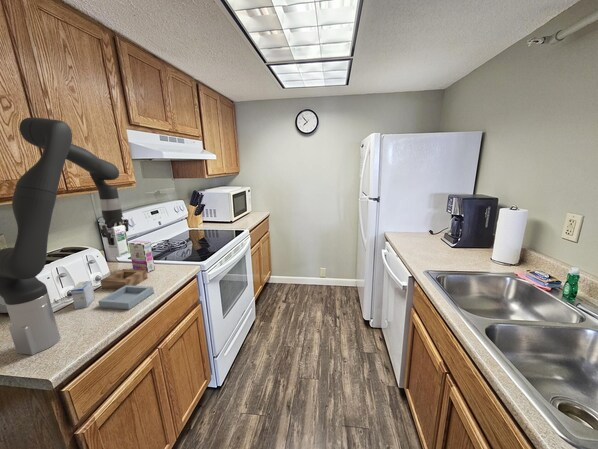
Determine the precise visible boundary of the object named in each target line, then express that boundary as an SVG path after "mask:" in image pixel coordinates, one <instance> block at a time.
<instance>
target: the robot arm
mask: <svg viewBox="0 0 598 449" xmlns="http://www.w3.org/2000/svg"><path fill="white" fill-rule="evenodd" d="M18 126H19V133H20V135H21V137H22V138H23V139H24V141H26V142H27V143H28V144H30V145H32V146H35V147H37V148H39V149H43V151H42V154H41V156H40V157H39V159H38V160H37V162H36V163H35V164H34V165H33V166H32V167H30V168H29V169H28V170H27V171H25V173H24V174H22V175H21V177H19V178H18V180H17V181H16V184H15V187H14V191H13V195H12V201H11V208H12V213H13V215H14V219H15V222H16V225H17V236H16V240H15V242H14V246H13V247H4V248H1V249H0V297H1V298H2V299H3V301H4V304H5V307H6V311H7V313H8V317H9V318H10V323H11V325H9V327H8V330H9V333H10V337H11V339H12V342H13V345H14V348H15V351H16V354H18V355H19V354H21V355H29V356H33V355H35V354H37V353H40V352H43V351H45V350H47V349H49V348H50V347H53V346H54V345H55V344H57V343H58V342H59V341H60V340H61V335H60V331H59V328H58V324H57V320H56V316H55V313H54V310H53V305H52V303H51V299H50V294H49V292H48V288H47V285H46V284H45V283H44V282H43V281H41V280H39V279H38V278H37V276H38V275H39V274H41V272H43V270H44V268H45V266H46V262H47V255H48V254H47V253H48V242H49V241H48V240H49V231H50V228H51V223H52V222H51V221H52V217H53V212H54V208H55V205H56V200H57V196H58V195H57V194H58V189H59V185H60V181H61V177H62V172H63V168H64V166H65V163H66V160H68V161H69V162H71V163H72V164H75V165H76V166H78V167H80V168H81V169H83V170H85V171H86V172H88V173H89V175H90V178H91V179H92V181H93V183H94V185H95V187H96V189H97V191H98V196H99V205H100V211H101V215H102V219H103V221H104V223H103V224H99V225H98V228H99V231H100V235H101V237H102V238H105V239H106V238H107V239H108V244H109V245H112V246H113V245H115V243H114V238H113V230H112V231H108V229H111V228H112V227H116V226H121V225H124V226H125V230H126V233H127V232H129V219H124V218H123V217H124V216H123V210H122V204H121V201H120V197H119V192H118V188H117V186H116V185H112V184H107V183H106V181H114V180H117V179H118V178H119V176H120V170H119V168H118V167H117V166H116V165H115V164H114V163H112V162H110V161H107V160H104V159H101V158H99V157H98V156H96V155H95V154H94V153H93V152H91V151H89V150H88V149H85V148H84V147H81V146H78V145H76V144H75V143H72V142H73V131H72V128H71V127H70V125H69V124H67V123H66V122H65V121H63V120H58V119H54V118H53V119H52V118H44V117H26V118H23V119H22V120H21V121H20V123H19V125H18ZM107 228H108V229H107ZM109 233H110V235H109ZM107 239H106V240H107ZM108 244H107V245H108Z"/></svg>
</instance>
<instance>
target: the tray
mask: <svg viewBox="0 0 598 449" xmlns="http://www.w3.org/2000/svg"><path fill="white" fill-rule="evenodd" d="M154 293H155V291H154V287H153V286H143V285H136V286H131V285H125V286H124V287H122V288H120V289H118V290H114V291H113V292H111V293H109V294H107V295H106V296H104V297H103V298H101V299H99V300H98V301H97V302H98V306H99V308H100V309H101V308H102V309H112V310H113V309H114V310H127V311H130V310H132V309H133V308H135V307H136V306H137V305H139V304H141V303H142V302H144V300H146V299H147V298H149V297H150V296H152V295H153V294H154Z"/></svg>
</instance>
